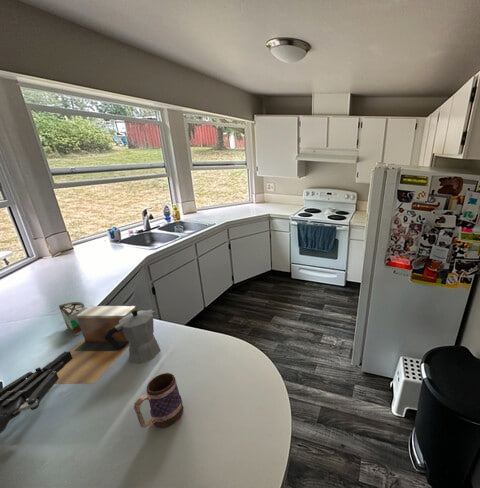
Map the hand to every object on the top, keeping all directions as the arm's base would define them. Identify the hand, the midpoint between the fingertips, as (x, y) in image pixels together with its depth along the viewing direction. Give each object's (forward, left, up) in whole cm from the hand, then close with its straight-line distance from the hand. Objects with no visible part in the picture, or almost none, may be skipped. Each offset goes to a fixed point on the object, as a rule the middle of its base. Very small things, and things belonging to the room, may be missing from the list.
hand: (68, 355), depth 76 cm
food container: (-16, +22, -7) cm, 28 cm away
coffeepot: (+16, +7, -7) cm, 19 cm away
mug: (+35, -15, -7) cm, 39 cm away
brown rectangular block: (0, +16, -6) cm, 17 cm away
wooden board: (0, +8, -7) cm, 10 cm away
